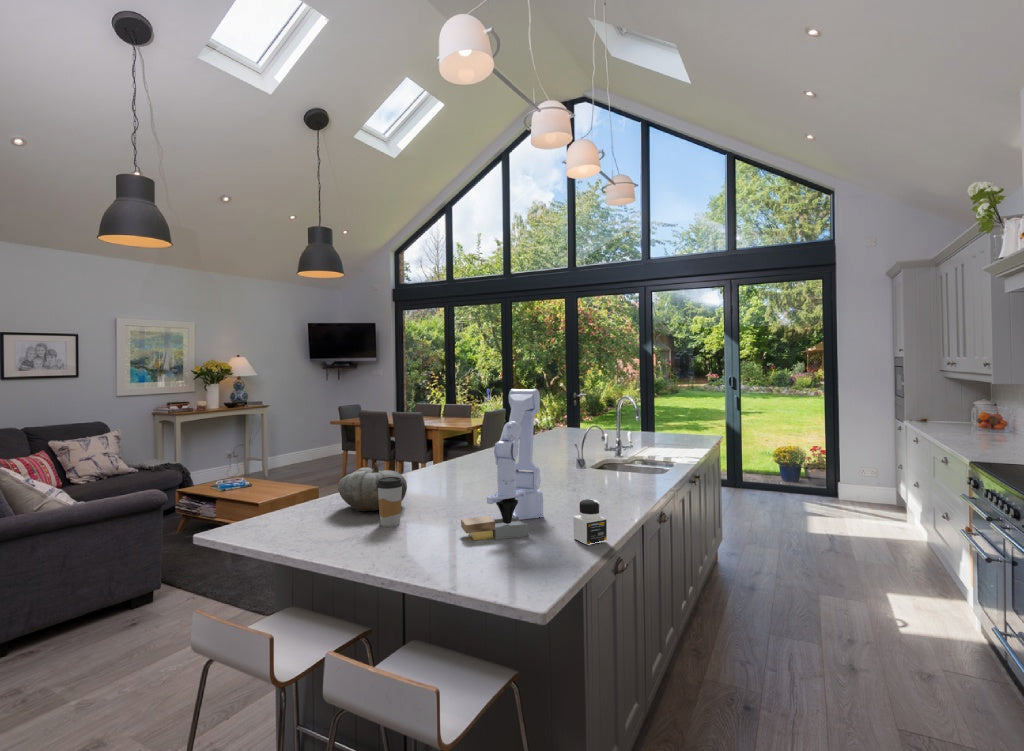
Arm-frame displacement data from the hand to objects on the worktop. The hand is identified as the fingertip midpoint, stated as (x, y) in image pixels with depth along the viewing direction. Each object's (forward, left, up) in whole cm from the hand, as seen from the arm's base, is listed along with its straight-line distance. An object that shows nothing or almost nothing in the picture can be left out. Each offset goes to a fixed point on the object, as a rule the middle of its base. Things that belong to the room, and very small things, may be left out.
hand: (507, 523), depth 171 cm
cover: (+9, 0, -1) cm, 9 cm away
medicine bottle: (-20, +16, -4) cm, 26 cm away
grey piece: (0, 0, -3) cm, 3 cm away
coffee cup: (+33, -24, -3) cm, 41 cm away
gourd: (+36, -48, -4) cm, 60 cm away
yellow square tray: (+9, 0, -3) cm, 9 cm away
